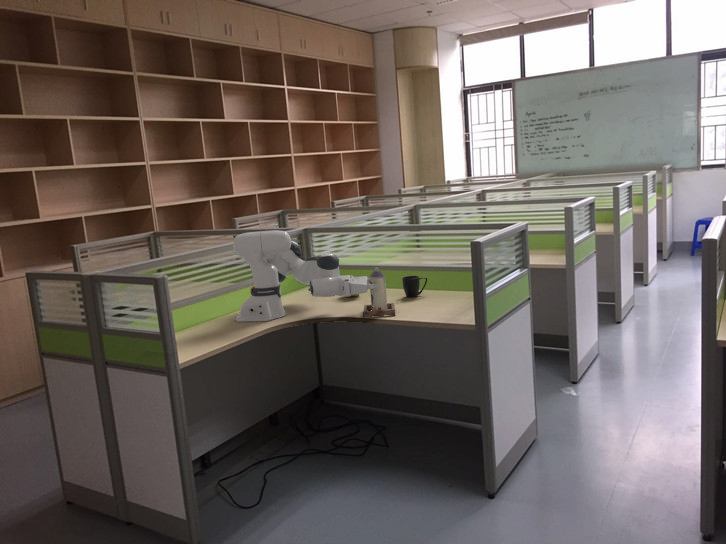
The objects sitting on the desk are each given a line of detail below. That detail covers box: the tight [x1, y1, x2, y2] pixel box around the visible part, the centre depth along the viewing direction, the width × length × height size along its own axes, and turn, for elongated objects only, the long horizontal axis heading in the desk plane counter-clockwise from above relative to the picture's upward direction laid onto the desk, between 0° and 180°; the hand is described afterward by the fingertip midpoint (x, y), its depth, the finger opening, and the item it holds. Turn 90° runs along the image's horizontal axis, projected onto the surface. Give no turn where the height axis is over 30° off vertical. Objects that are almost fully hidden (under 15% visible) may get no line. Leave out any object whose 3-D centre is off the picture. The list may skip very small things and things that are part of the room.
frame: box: [363, 302, 396, 318], centre depth 270 cm, size 13×13×2 cm
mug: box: [401, 275, 428, 299], centre depth 297 cm, size 8×12×10 cm
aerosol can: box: [368, 267, 389, 311], centre depth 268 cm, size 7×7×20 cm
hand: (378, 283), depth 268 cm, fingers open, 8 cm apart
